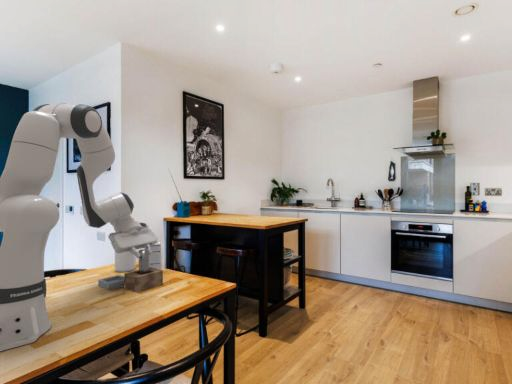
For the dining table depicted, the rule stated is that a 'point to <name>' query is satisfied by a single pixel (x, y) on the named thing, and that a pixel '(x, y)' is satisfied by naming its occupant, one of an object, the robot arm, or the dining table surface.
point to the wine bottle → (125, 261)
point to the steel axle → (144, 262)
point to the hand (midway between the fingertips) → (144, 255)
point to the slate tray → (111, 282)
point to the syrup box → (155, 256)
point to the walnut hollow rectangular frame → (143, 280)
